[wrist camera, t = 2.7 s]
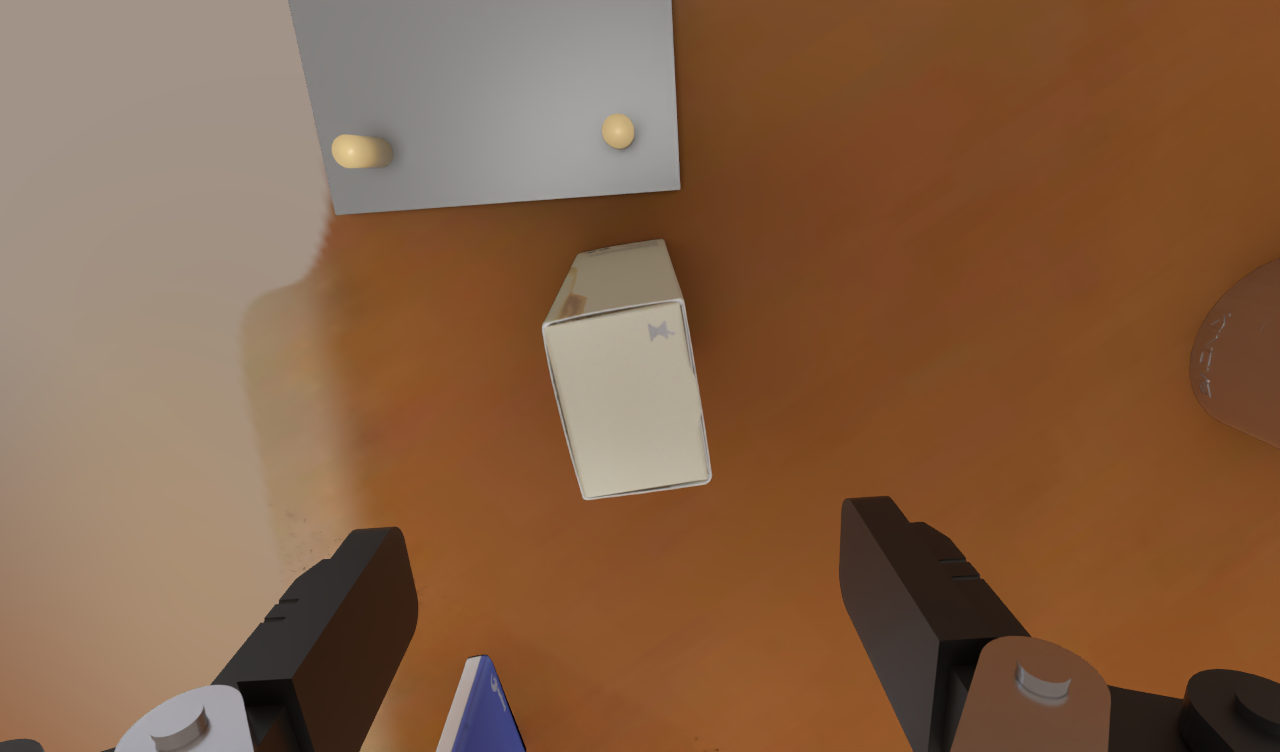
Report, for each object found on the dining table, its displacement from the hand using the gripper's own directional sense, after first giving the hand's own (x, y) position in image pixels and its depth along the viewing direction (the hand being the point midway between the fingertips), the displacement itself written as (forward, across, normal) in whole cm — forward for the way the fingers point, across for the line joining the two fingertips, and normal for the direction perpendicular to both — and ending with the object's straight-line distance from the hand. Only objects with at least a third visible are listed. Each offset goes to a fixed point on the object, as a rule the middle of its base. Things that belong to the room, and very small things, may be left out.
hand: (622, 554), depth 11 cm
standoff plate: (+20, +5, -13) cm, 24 cm away
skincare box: (+20, 0, 0) cm, 20 cm away
